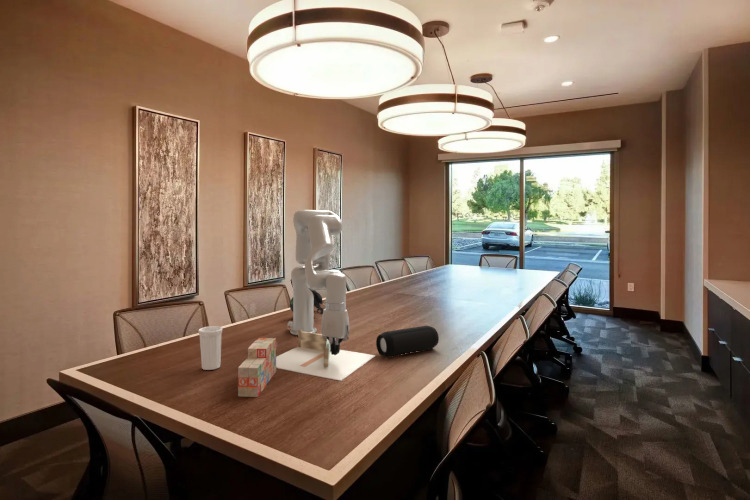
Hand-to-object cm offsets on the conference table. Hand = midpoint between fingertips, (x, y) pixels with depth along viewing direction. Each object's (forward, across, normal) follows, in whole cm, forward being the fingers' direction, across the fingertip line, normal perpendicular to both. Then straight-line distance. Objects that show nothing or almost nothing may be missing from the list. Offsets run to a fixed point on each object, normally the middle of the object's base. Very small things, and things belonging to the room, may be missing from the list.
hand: (335, 353), depth 156 cm
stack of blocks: (+3, -13, -28) cm, 31 cm away
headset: (+5, -49, +58) cm, 76 cm away
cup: (+4, -38, -24) cm, 45 cm away
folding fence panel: (+2, -3, 0) cm, 4 cm away
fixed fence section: (+3, -15, +9) cm, 18 cm away
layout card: (+3, -6, -1) cm, 7 cm away
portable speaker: (+4, +21, +22) cm, 31 cm away
